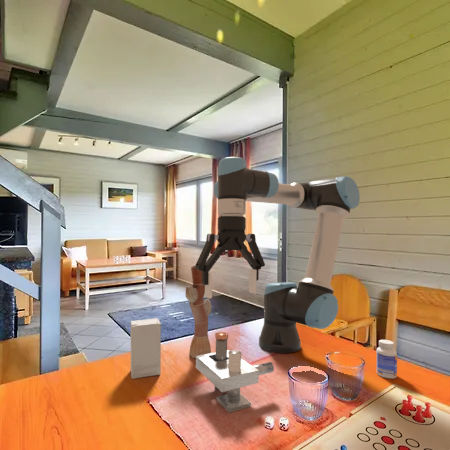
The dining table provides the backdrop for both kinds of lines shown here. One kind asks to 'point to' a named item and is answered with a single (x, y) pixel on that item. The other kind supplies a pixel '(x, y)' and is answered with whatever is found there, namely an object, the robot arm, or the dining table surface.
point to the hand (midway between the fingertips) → (231, 295)
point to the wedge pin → (221, 347)
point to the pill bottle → (386, 359)
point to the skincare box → (145, 348)
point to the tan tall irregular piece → (199, 315)
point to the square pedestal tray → (231, 377)
